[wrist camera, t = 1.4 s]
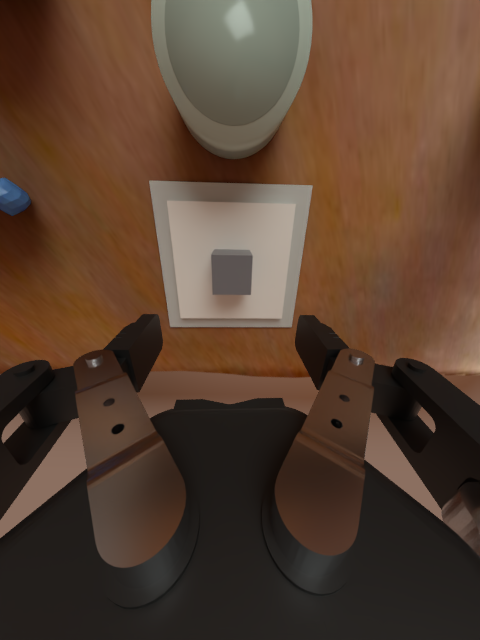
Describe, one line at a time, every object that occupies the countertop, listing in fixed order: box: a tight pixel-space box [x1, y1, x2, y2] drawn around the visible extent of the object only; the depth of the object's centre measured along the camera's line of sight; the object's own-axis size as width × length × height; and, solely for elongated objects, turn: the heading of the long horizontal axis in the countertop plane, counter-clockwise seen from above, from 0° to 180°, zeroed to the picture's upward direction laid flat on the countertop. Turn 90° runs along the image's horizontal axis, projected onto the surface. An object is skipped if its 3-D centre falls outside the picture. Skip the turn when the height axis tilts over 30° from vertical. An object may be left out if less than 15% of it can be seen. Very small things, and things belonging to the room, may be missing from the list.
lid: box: [167, 201, 296, 319], centre depth 26 cm, size 15×15×6 cm
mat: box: [149, 181, 312, 327], centre depth 28 cm, size 19×19×1 cm
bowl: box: [151, 0, 312, 159], centre depth 18 cm, size 11×11×8 cm
